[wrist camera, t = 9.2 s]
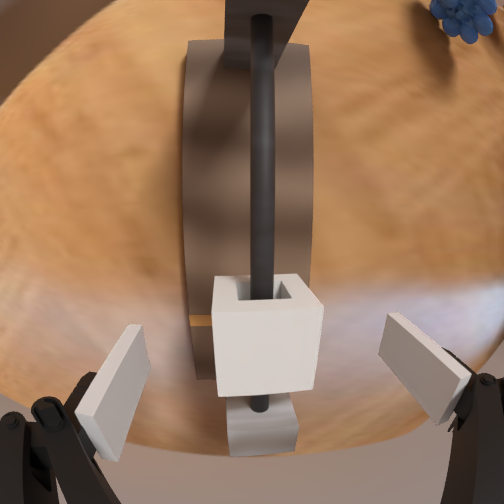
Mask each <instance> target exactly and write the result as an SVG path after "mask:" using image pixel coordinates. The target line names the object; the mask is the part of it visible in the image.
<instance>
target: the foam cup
mask: <svg viewBox="0 0 504 504" xmlns="http://www.w3.org/2000/svg"><path fill="white" fill-rule="evenodd" d="M495 1H496V4H497V7H499V6H504V0H495Z"/></svg>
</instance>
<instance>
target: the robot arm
mask: <svg viewBox="0 0 504 504" xmlns="http://www.w3.org/2000/svg"><path fill="white" fill-rule="evenodd" d="M378 355H379V356H380V357H381V358H382V359H383V360H384V362H385V363H386V364H387V365H388V366H389V368H390V369H391V370H392V371H393V372H394V374H395V375H396V376H397V377H398V378H399V380H400V381H401V382H402V383H403V385H404V386H405V387H406V388H407V389H408V391H409V392H410V393H411V394H412V396H413V397H414V398H415V399H416V400H417V402H418V403H419V404H420V405H421V407H422V408H423V409H424V410H425V412H426V413H427V414H428V415H429V417H430V418H431V419H432V420H433V421H434V423H435V424H436V425H440V424H442V423H444V422H446V421H448V420H449V418H450V416H451V414H452V413H453V411H455V413H456V414H457V415H456V417H455V419H454V420H453V422H452V424H451V425H450V427H449V429H448V432H450V430H451V429H452V428H453V427H454V429H453V431H452V432H453V438H452V447H451V454H450V461H449V467H448V472H447V477H446V482H445V487H444V491H443V496H442V499H441V503H440V504H504V378H500V379H496V378H495V377H494V376H492V375H490V374H487V373H481V374H478V375H477V374H476V373H475V372H474V371H473V370H471V369H470V368H469V367H468V366H467V365H466V364H464V363H463V362H461V360H460V359H459V358H456V356H455V355H454V354H453V353H452V352H450V351H449V350H446V349H444V348H442V347H440V346H439V345H438V344H436V343H435V342H434V341H433V340H432V339H430V338H429V337H428V336H427V335H426V334H424V333H423V332H422V331H421V330H420V329H418V328H417V327H416V326H415V325H413V324H412V323H411V322H410V321H409V320H407V319H406V318H405V317H404V316H402V315H401V314H400V313H399V312H395V313H387V318H386V323H385V328H384V332H383V337H382V341H381V345H380V349H379V353H378ZM150 370H151V366H150V361H149V357H148V352H147V347H146V342H145V337H144V332H143V326H142V325H133V324H128V326H127V328H126V329H125V331H124V332H123V334H122V335H121V337H120V338H119V340H118V341H117V343H116V344H115V346H114V347H113V349H112V351H111V352H110V354H109V355H108V357H107V358H106V360H105V362H104V363H103V365H102V366H101V368H100V370H99V371H98V373H95V372H89V373H87V374H86V375H84V376H83V377H82V378H81V379H80V381H79V382H78V384H77V387H75V388H74V390H73V393H71V395H70V396H69V398H68V399H67V401H66V403H65V404H64V406H63V405H62V403H61V402H60V400H59V399H57V398H55V397H50V396H48V397H43V398H40V399H38V400H37V401H36V402H34V404H33V405H32V407H31V413H32V415H33V416H34V418H35V420H36V421H37V422H27V421H26V420H25V418H24V416H23V415H22V414H20V413H19V412H14V411H13V412H9V413H7V414H5V415H4V416H3V417H2V418H1V420H0V504H59V499H58V492H57V485H56V478H57V480H58V483H59V485H60V488H61V490H62V492H63V494H64V497H65V499H66V502H67V504H121V503H120V501H119V500H118V498H117V497H116V495H115V494H114V492H113V490H112V489H111V487H110V485H109V484H108V482H107V480H106V479H105V477H104V475H103V473H102V471H101V470H100V468H99V466H98V464H97V462H96V461H95V459H94V458H93V457H94V454H95V452H96V451H97V452H98V454H99V456H100V457H101V458H102V459H106V460H111V461H115V462H119V459H120V456H121V452H122V450H123V446H124V444H125V440H126V437H127V434H128V431H129V428H130V425H131V422H132V420H133V417H134V414H135V411H136V408H137V405H138V402H139V400H140V397H141V394H142V391H143V388H144V386H145V383H146V380H147V378H148V375H149V372H150ZM55 475H56V476H55Z"/></svg>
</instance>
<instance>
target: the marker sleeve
mask: <svg viewBox="0 0 504 504" xmlns="http://www.w3.org/2000/svg"><path fill="white" fill-rule="evenodd" d="M323 310H324V306H323V305H322V304H321V303H320V301H319V300H318V299H317V298H316V296H315V295H314V294H313V293H312V292H311V290H310V289H309V288H308V287H307V285H306V284H305V283H304V282H303V281H302V279H301V278H300V277H299V276H298V274H274V291H273V299H269V300H250V275H239V276H215V278H214V289H213V300H212V312H211V313H212V328H213V342H214V355H215V367H216V379H217V389H218V397H229V396H251V395H265V394H276V393H286V392H295V391H303V390H310V389H313V384H314V377H315V371H316V365H317V358H318V351H319V343H320V336H321V328H322V319H323Z"/></svg>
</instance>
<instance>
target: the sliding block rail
mask: <svg viewBox="0 0 504 504" xmlns="http://www.w3.org/2000/svg"><path fill="white" fill-rule="evenodd" d="M308 2H309V0H225V30H224V39H217V40H193V41H188V49H187V60H186V73H185V88H184V108H183V138H182V200H183V232H184V252H185V269H186V283H187V296H188V307H189V320H190V328H191V337H192V346H193V354H194V362H195V369H196V377H197V379H216V367H215V355H214V342H213V328H212V313H211V312H212V300H213V289H214V278H215V276H239V275H250V300H269V299H273V291H274V274H298V276H299V277H300V278H301V279H302V281H303V282H304V283H305V284H306V285H307V287H308V288H309V281H310V265H311V246H312V221H313V111H312V87H311V70H310V55H309V45H302V44H294V43H288V41H289V39H290V37H291V35H292V33H293V31H294V29H295V27H296V25H297V23H298V21H299V19H300V17H301V15H302V13H303V11H304V10H305V8H306V6H307V4H308ZM226 412H227V433H228V443H229V453H230V457H240V456H256V455H267V454H277V453H285V452H292V451H295V446H296V441H297V436H298V430H299V424H298V421H297V417H296V414H295V411H294V408H293V405H292V402H291V399H290V396H289V393H288V392H286V393H276V394H265V395H251V396H229V397H226Z"/></svg>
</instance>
